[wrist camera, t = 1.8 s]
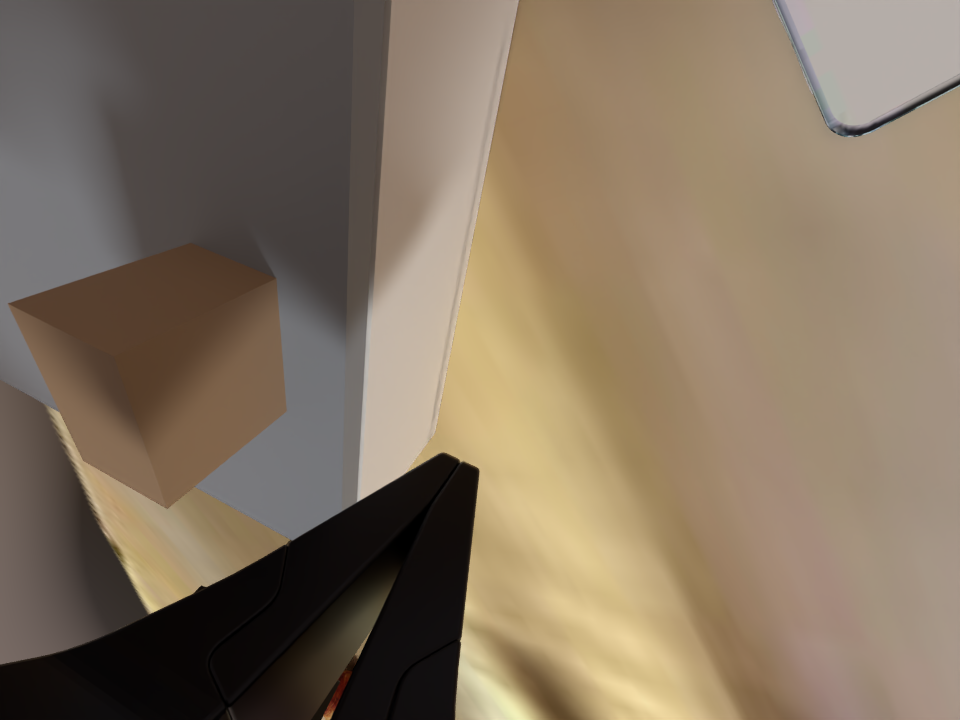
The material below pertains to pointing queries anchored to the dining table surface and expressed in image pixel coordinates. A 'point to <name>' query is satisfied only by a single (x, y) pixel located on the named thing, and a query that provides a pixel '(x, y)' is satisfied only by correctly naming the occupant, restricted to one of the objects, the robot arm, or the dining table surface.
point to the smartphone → (873, 56)
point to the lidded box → (424, 212)
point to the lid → (194, 240)
